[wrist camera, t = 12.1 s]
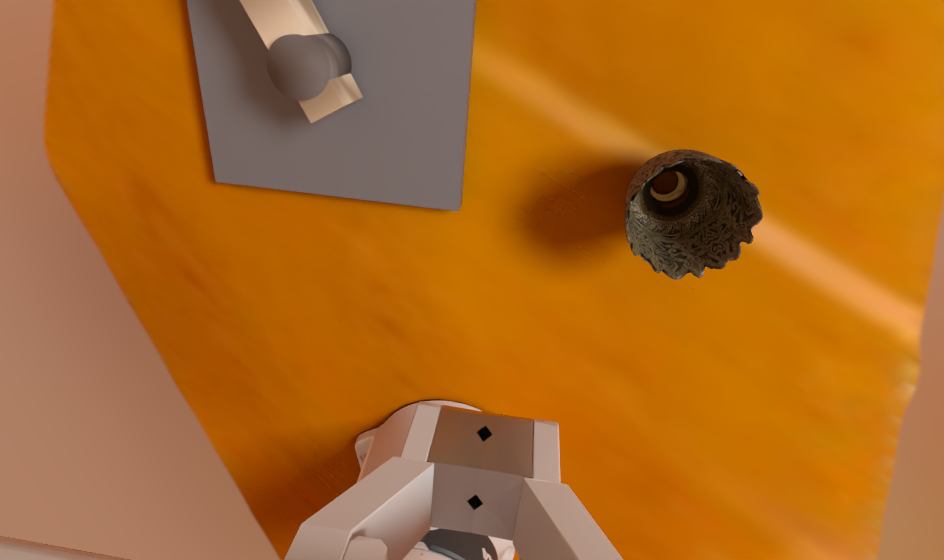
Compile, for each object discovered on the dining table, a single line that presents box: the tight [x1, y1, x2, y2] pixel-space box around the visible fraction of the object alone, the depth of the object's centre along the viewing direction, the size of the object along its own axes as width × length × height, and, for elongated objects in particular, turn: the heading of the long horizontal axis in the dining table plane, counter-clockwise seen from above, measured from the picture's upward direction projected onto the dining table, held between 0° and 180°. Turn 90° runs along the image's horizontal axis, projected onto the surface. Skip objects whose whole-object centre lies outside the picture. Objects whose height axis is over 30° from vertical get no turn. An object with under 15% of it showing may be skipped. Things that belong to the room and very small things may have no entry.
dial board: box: [186, 0, 476, 211], centre depth 34 cm, size 24×19×2 cm
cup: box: [625, 150, 763, 279], centre depth 33 cm, size 8×7×8 cm
